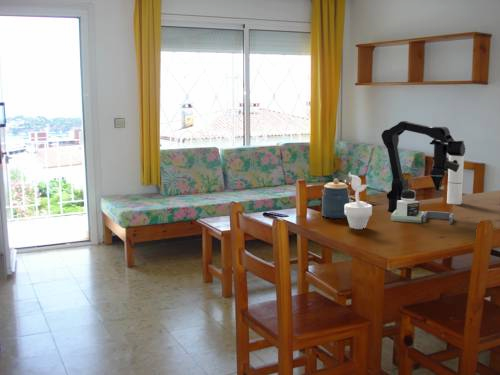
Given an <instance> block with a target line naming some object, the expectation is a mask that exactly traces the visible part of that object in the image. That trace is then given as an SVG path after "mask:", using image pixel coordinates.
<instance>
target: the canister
mask: <svg viewBox="0 0 500 375" xmlns="http://www.w3.org/2000/svg"><path fill="white" fill-rule="evenodd" d="M323 188H324V189H322V190H321V193H322V197H321V215H322V217H323V216H324V217H323V218H326V217H329V218H328V219H333V218H341V219H347V218H346V217H347V216H346V215H345V214H344V205H345V204H348V203H351V202H350V200H351V198H350V193H351V191H350V190H349V189H348V188H349V185H347V183H346V182H340V180H339V178H334V179H333V182H332V181H331V182H327V183H326V184H324V185H323Z"/></svg>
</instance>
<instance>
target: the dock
mask: <svg viewBox="0 0 500 375" xmlns="http://www.w3.org/2000/svg"><path fill="white" fill-rule="evenodd" d="M427 219H435V220H436V219H439V220H448V225H452V223H453V221H454V220H453V219H454V212H450V211H449V212H448V211H434V210H425V211H424V214H423V220H422V223H426V221H427Z"/></svg>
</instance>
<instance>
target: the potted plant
mask: <svg viewBox="0 0 500 375" xmlns="http://www.w3.org/2000/svg"><path fill="white" fill-rule="evenodd" d="M347 175H348V177H349V178H351V182H350V181H349V182H348V184H349V185H351V188H352V190H353V191H354V192H355V193H354V195H355V196H354V197H355V201H353V202H350V203H348V204H345V205H344V214H345V215H346V216H347V218H346V219H347V222H348V225H349V228H351V229H353V228H354V230H364V229H365V228H366V227H367V224H368V222H369V219H370V217H372V215H373V205H372V204H370V203H368V202H365V201H362V200H360V192H363V191H364V190H366V188H367V187H370V186H371V184H362V179H361V178H360V177H359V176H358V175H354V174H352V173H351V172H348V173H347ZM346 182H347V180H346V179H344V183H346ZM363 228H364V229H363Z"/></svg>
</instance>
